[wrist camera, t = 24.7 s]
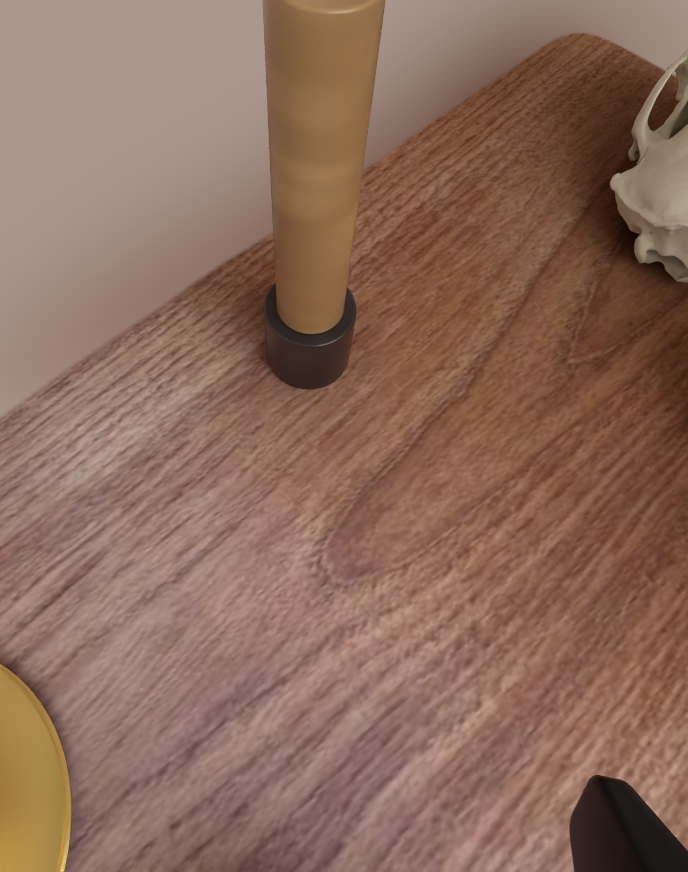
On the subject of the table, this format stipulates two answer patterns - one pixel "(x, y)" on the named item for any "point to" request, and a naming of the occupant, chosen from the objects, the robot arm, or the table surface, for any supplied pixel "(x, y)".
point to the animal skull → (659, 182)
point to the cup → (31, 784)
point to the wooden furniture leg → (316, 176)
